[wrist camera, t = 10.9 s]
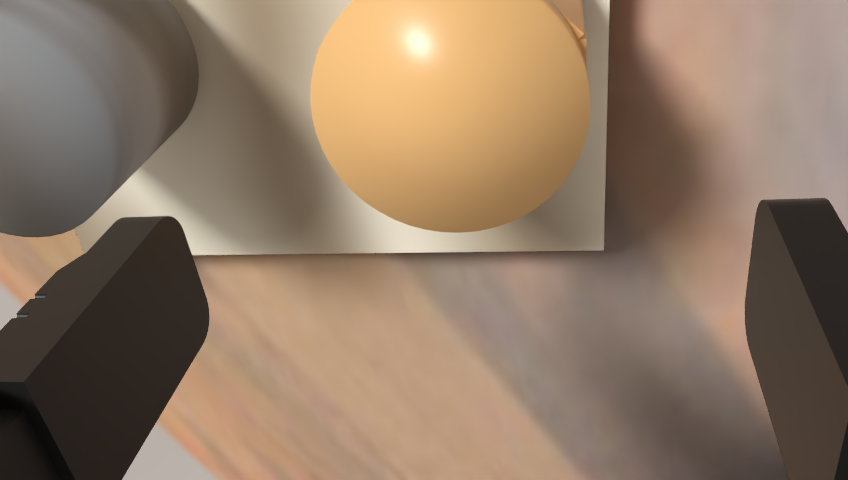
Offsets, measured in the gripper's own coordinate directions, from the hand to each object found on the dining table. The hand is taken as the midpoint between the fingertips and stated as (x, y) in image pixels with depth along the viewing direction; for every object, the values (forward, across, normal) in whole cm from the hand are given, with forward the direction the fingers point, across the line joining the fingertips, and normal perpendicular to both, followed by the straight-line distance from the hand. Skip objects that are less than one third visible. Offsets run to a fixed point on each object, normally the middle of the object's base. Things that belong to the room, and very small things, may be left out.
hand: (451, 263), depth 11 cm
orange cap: (+10, +1, 0) cm, 10 cm away
